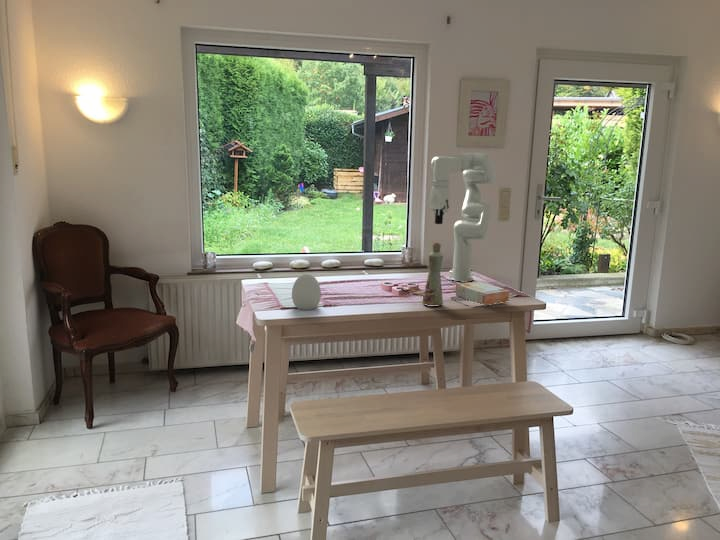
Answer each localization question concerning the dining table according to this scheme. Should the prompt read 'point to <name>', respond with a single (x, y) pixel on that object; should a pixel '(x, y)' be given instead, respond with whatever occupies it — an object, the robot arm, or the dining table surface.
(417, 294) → the turner
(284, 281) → the dining table surface
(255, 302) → the dining table surface
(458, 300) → the mat
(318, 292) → the decorative egg
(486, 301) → the cracker box
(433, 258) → the bottle
